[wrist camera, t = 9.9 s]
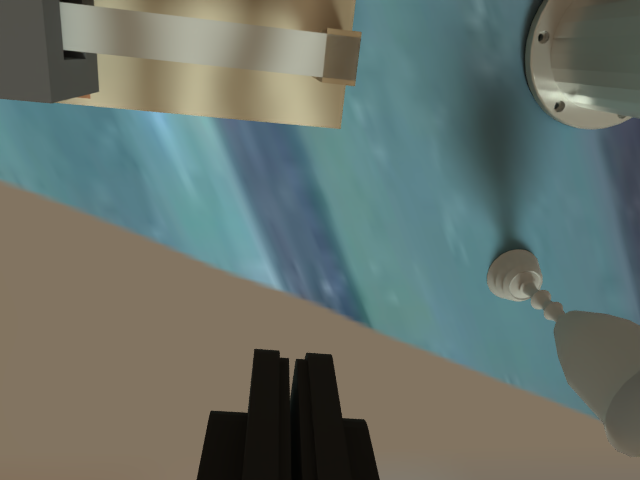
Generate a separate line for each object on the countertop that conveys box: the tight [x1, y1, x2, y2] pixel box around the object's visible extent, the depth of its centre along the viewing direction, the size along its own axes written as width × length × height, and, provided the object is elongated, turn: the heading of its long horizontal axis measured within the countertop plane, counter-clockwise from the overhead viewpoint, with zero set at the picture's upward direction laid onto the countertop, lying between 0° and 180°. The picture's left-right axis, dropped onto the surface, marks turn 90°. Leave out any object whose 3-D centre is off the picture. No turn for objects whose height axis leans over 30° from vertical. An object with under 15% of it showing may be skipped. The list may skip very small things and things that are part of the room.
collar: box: [0, 0, 99, 103], centre depth 27 cm, size 3×8×8 cm, turn 174°
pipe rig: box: [55, 0, 362, 129], centre depth 30 cm, size 26×10×8 cm, turn 84°
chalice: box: [487, 249, 640, 457], centre depth 36 cm, size 7×7×18 cm
